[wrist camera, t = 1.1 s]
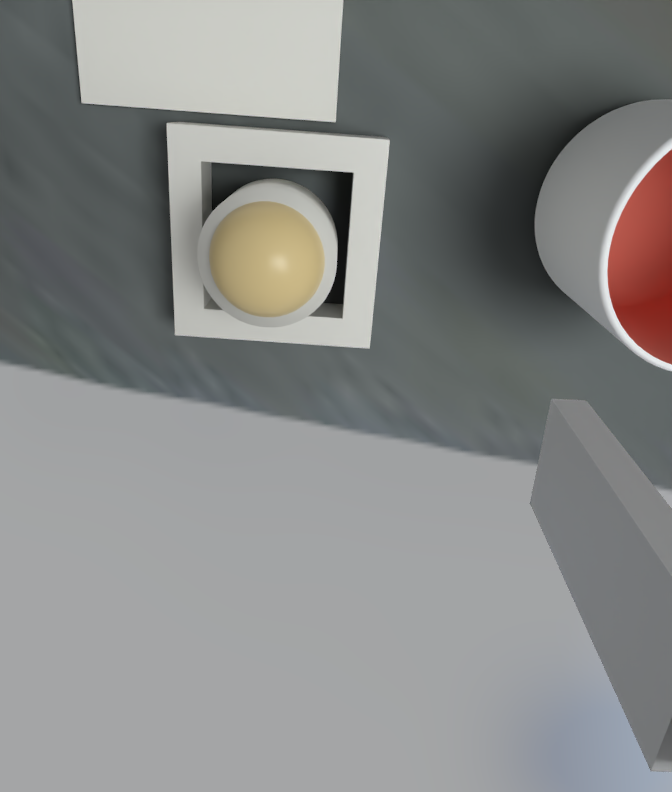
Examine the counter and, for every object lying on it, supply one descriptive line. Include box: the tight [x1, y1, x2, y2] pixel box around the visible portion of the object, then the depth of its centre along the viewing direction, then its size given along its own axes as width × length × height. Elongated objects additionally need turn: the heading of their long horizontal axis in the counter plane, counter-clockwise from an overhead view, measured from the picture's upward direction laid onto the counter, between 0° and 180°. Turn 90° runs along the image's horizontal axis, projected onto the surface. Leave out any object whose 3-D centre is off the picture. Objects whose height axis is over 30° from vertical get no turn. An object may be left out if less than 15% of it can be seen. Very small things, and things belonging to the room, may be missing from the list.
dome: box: [197, 178, 338, 327], centre depth 28 cm, size 6×6×6 cm
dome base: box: [166, 122, 390, 348], centre depth 32 cm, size 10×10×2 cm
